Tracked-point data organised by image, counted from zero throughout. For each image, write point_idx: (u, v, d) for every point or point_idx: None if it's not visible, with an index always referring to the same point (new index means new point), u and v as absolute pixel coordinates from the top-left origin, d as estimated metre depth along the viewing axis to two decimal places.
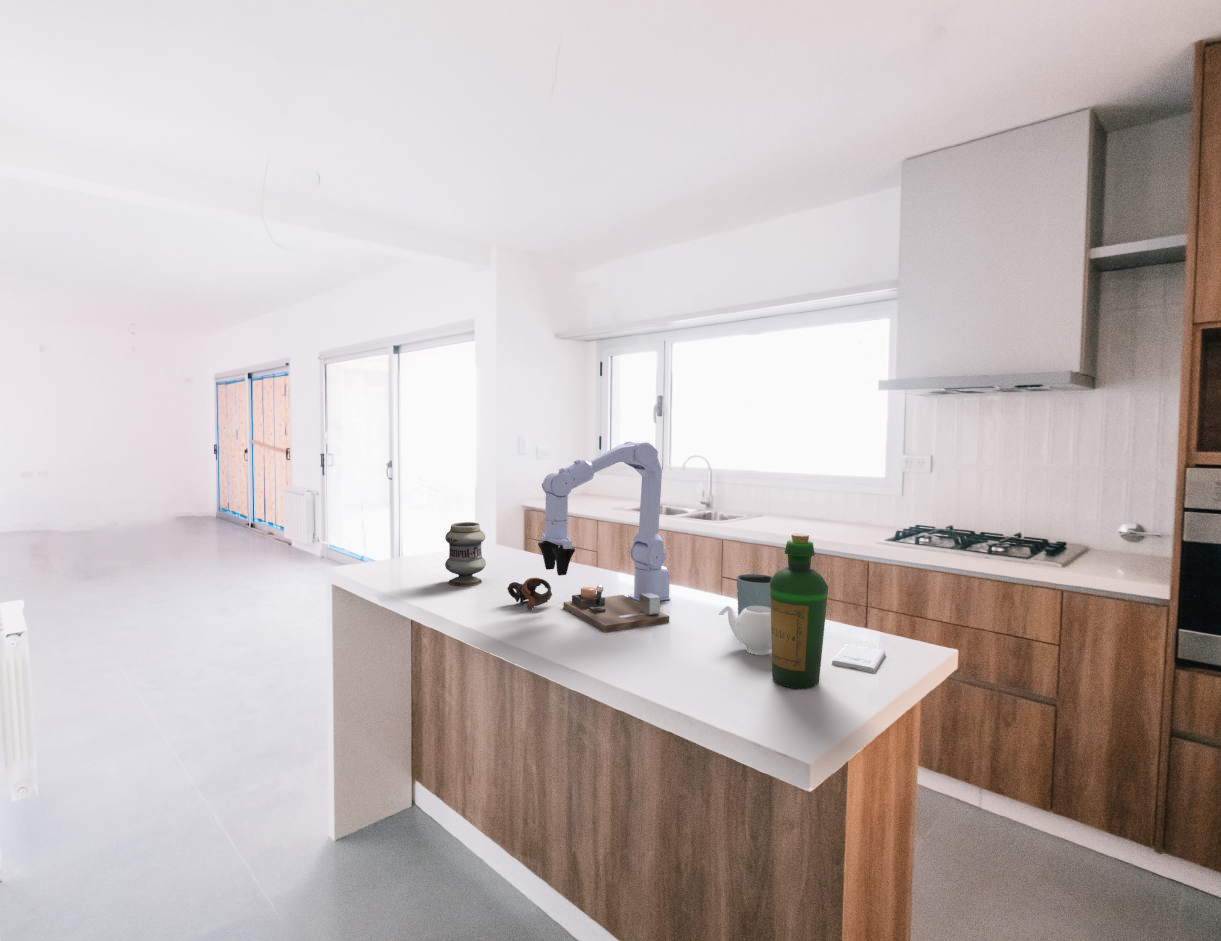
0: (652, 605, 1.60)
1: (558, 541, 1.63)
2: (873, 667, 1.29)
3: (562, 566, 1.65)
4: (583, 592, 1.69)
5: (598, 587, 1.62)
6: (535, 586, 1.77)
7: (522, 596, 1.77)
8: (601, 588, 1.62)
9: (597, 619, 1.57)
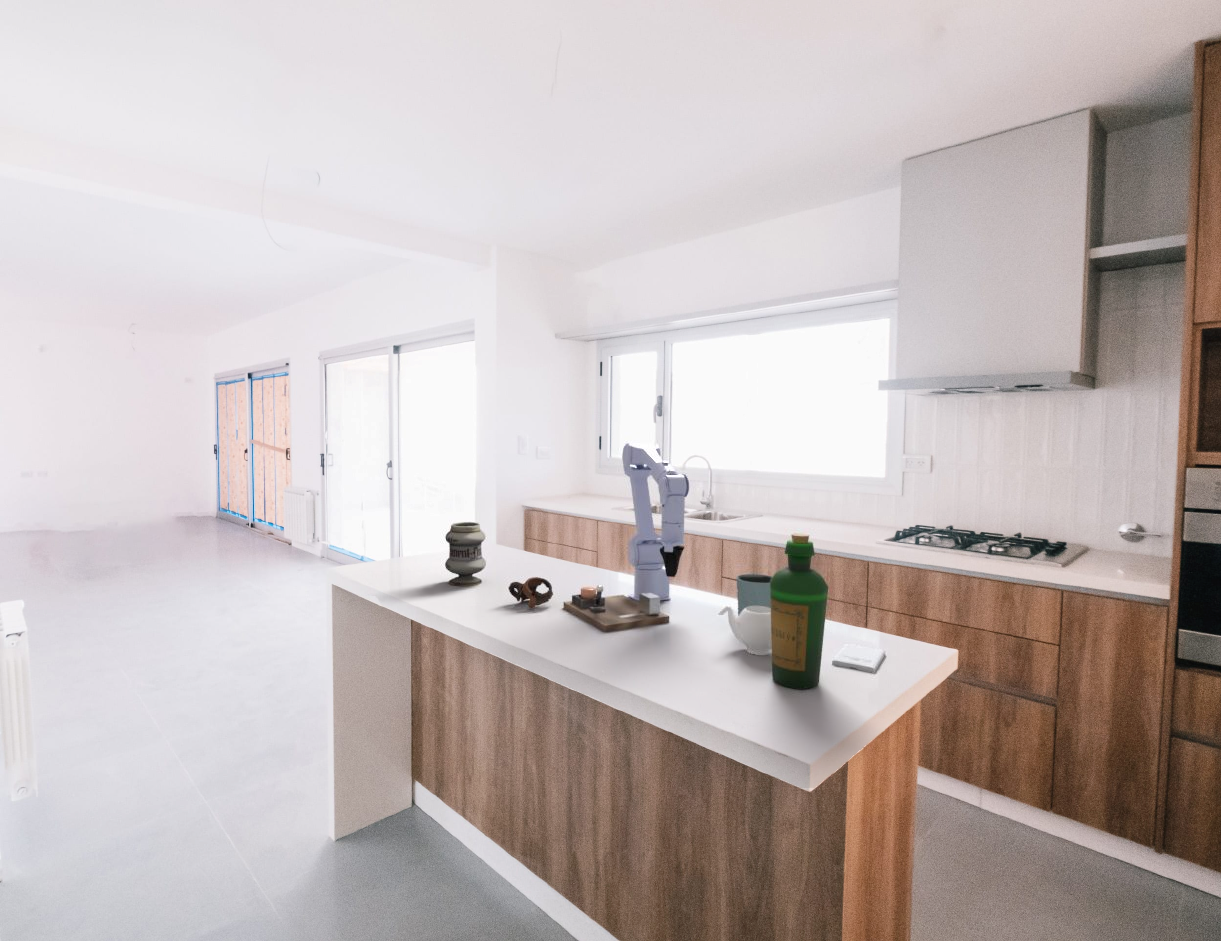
0: (652, 605, 1.60)
1: (663, 543, 1.61)
2: (873, 667, 1.29)
3: (670, 567, 1.64)
4: (583, 592, 1.69)
5: (598, 587, 1.62)
6: (536, 585, 1.78)
7: (523, 595, 1.77)
8: (601, 588, 1.62)
9: (597, 619, 1.57)
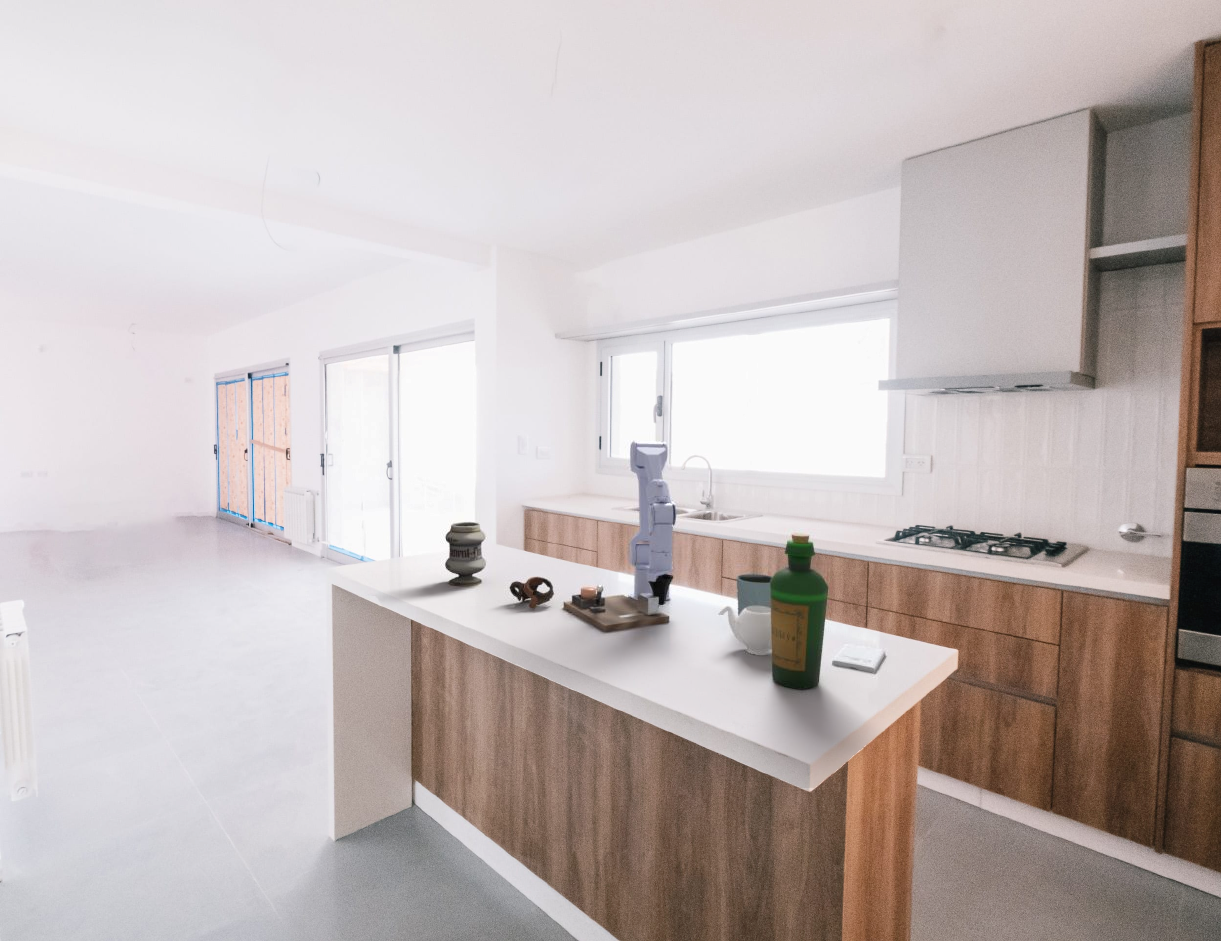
0: (650, 605, 1.60)
1: (648, 572, 1.60)
2: (873, 667, 1.29)
3: (658, 595, 1.63)
4: (583, 592, 1.69)
5: (598, 587, 1.62)
6: (537, 585, 1.79)
7: (524, 595, 1.78)
8: (601, 588, 1.62)
9: (597, 619, 1.57)
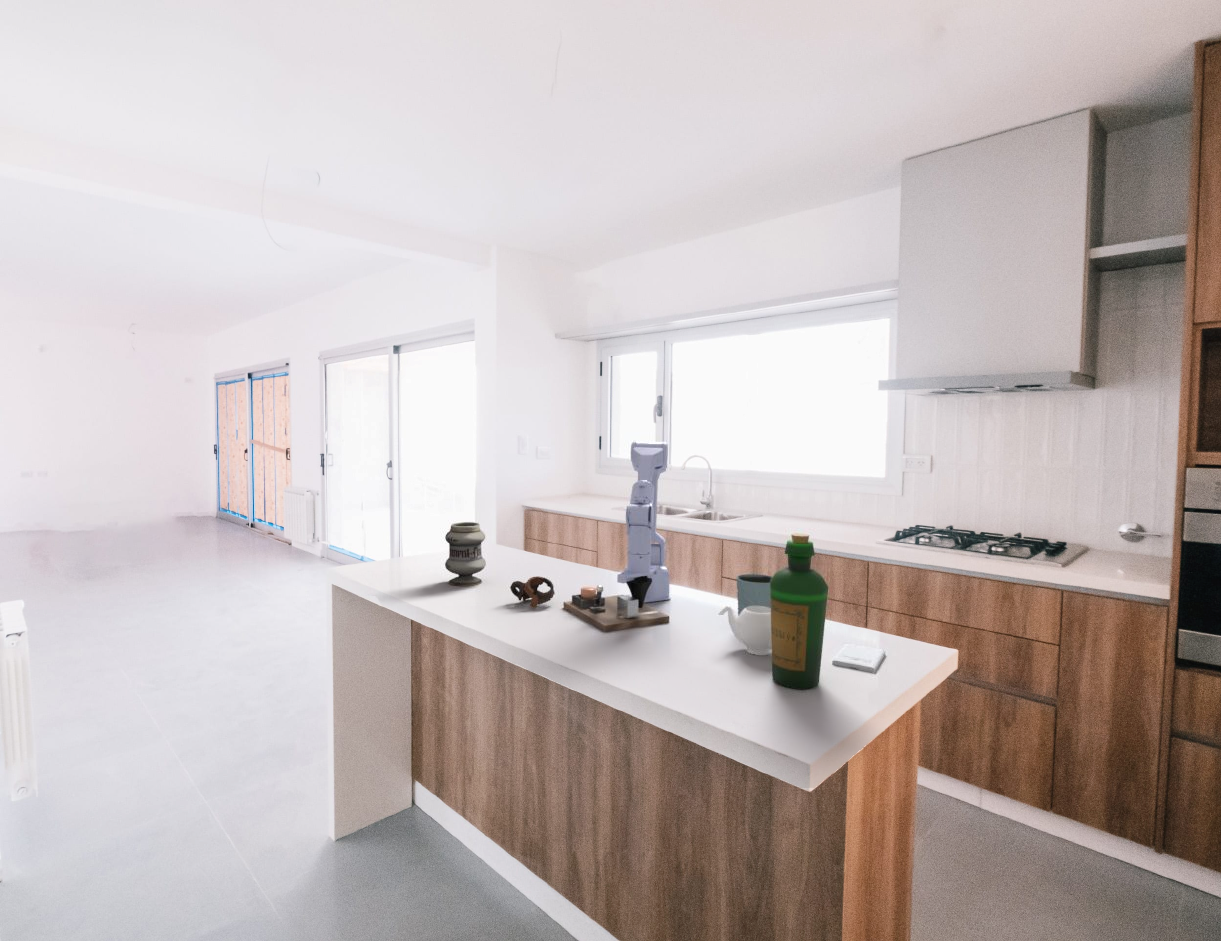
0: (630, 608, 1.57)
1: None
2: (873, 667, 1.29)
3: (636, 598, 1.61)
4: (583, 592, 1.69)
5: (598, 587, 1.62)
6: (537, 585, 1.79)
7: (524, 595, 1.78)
8: (601, 588, 1.62)
9: (597, 619, 1.57)
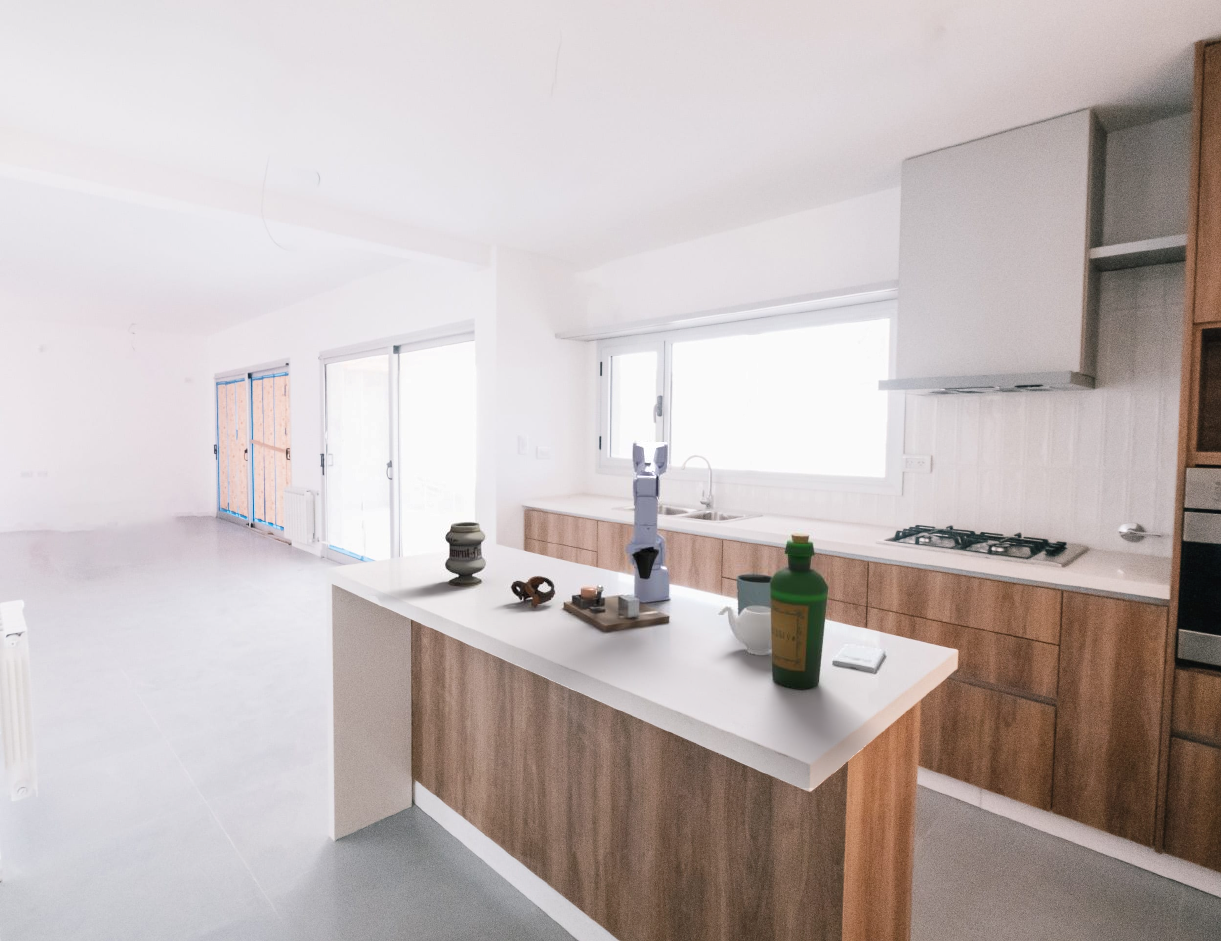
0: (631, 608, 1.57)
1: None
2: (873, 667, 1.29)
3: (642, 569, 1.61)
4: (583, 592, 1.69)
5: (598, 587, 1.62)
6: (538, 584, 1.79)
7: (525, 594, 1.78)
8: (601, 588, 1.62)
9: (597, 619, 1.57)
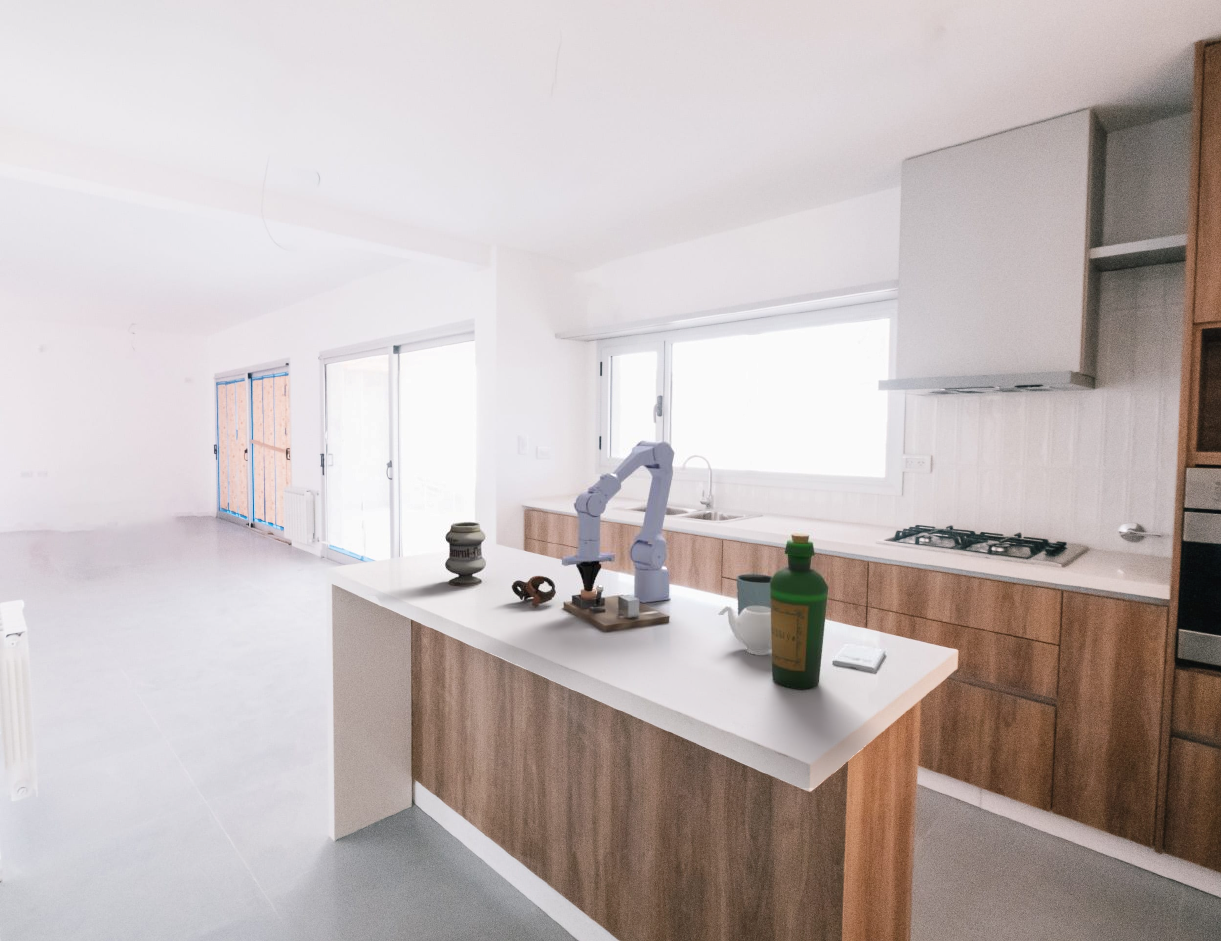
0: (631, 608, 1.57)
1: None
2: (873, 667, 1.29)
3: (585, 582, 1.70)
4: (583, 594, 1.69)
5: (598, 587, 1.62)
6: (538, 584, 1.80)
7: (526, 594, 1.79)
8: (601, 588, 1.62)
9: (597, 619, 1.57)
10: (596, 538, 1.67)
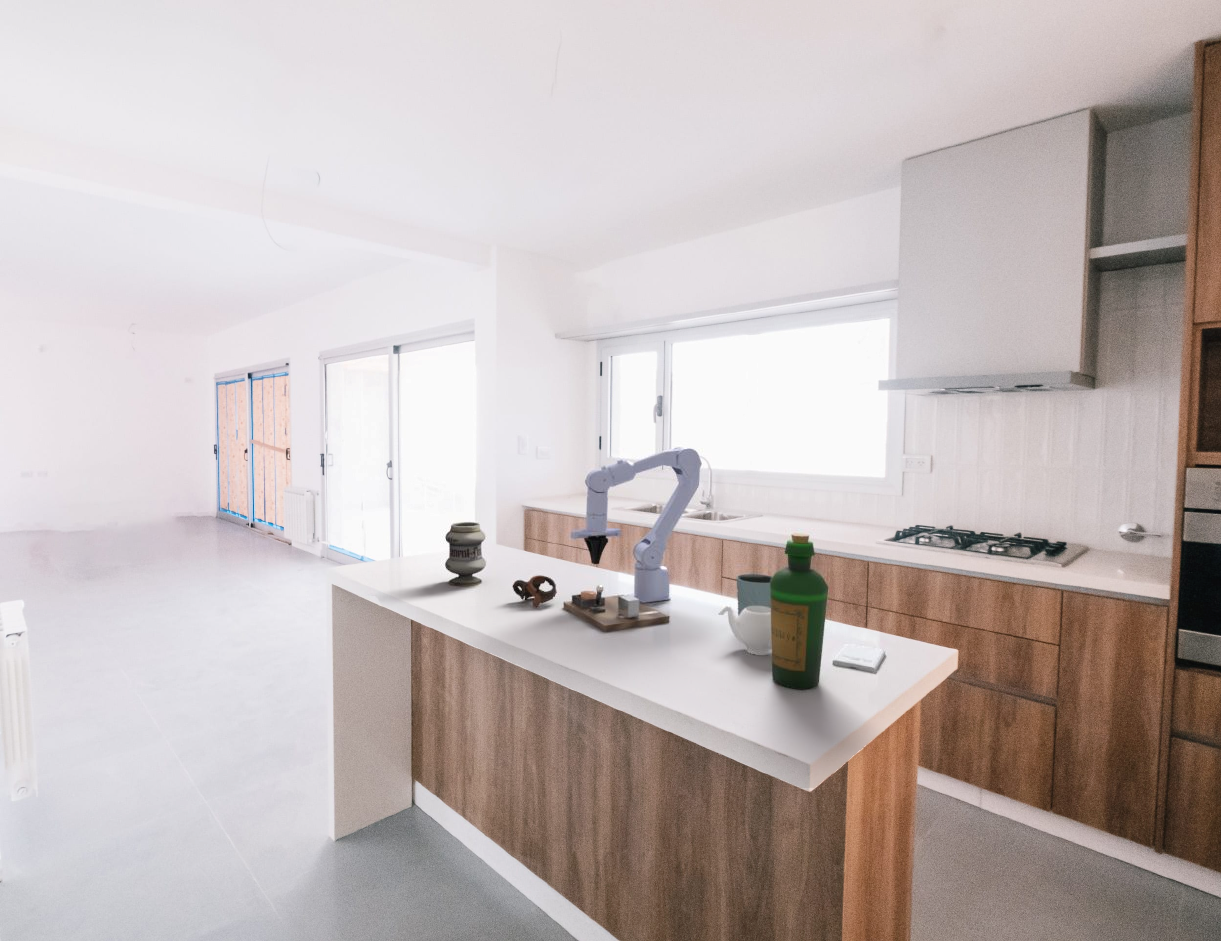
0: (631, 608, 1.57)
1: None
2: (874, 667, 1.30)
3: (592, 555, 1.78)
4: (583, 596, 1.69)
5: (598, 587, 1.62)
6: (539, 584, 1.80)
7: (527, 594, 1.79)
8: (601, 588, 1.62)
9: (597, 619, 1.57)
10: (600, 513, 1.75)
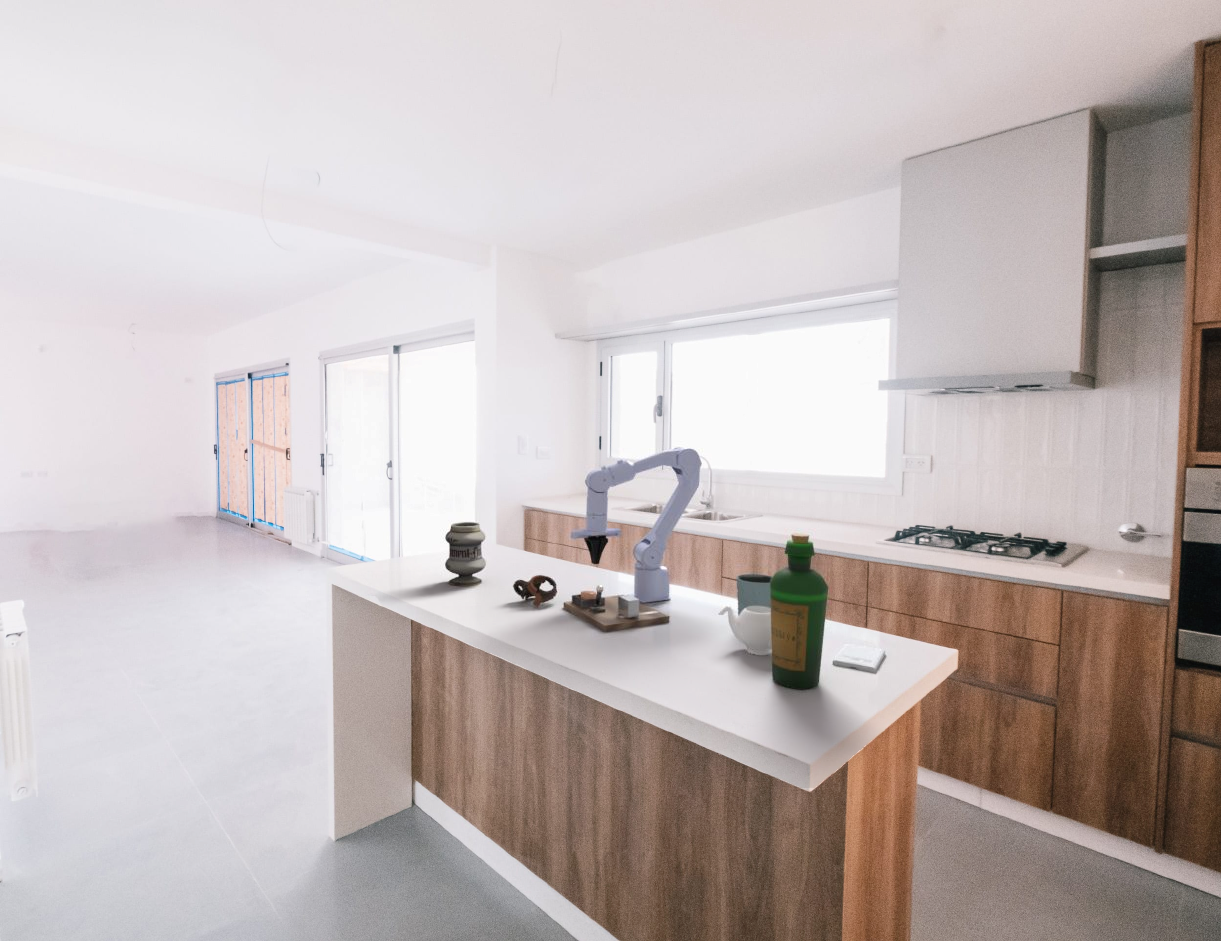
0: (631, 608, 1.57)
1: None
2: (874, 667, 1.30)
3: (592, 555, 1.78)
4: (583, 596, 1.69)
5: (598, 587, 1.62)
6: (540, 583, 1.81)
7: (527, 593, 1.80)
8: (601, 588, 1.62)
9: (597, 619, 1.57)
10: (600, 513, 1.75)
